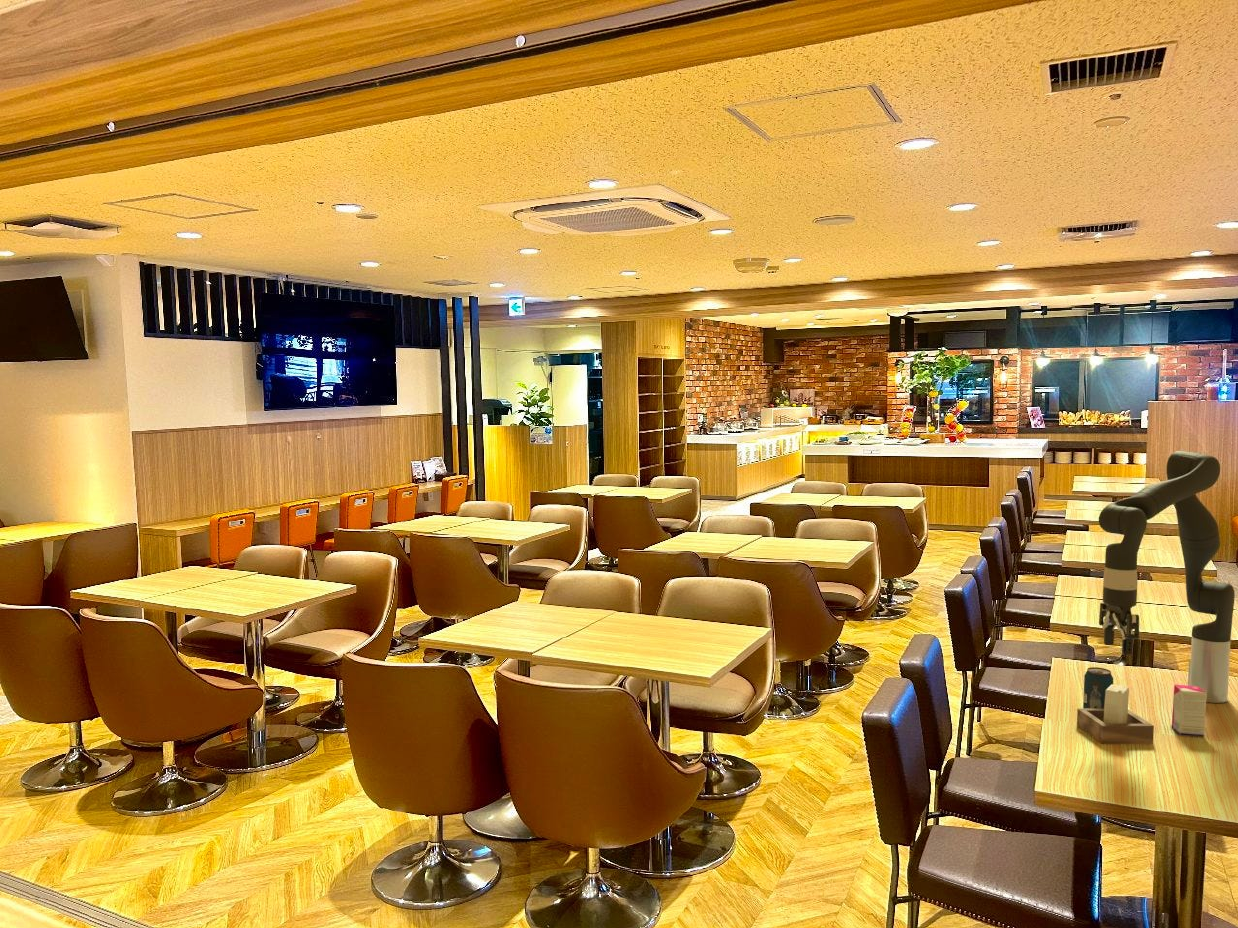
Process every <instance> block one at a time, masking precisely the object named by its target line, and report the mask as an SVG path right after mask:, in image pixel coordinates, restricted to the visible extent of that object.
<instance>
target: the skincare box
mask: <svg viewBox="0 0 1238 928" xmlns="http://www.w3.org/2000/svg"><path fill="white" fill-rule="evenodd" d="M1129 694H1130V687H1128V686H1124V685H1118V684H1114V683H1113V684H1111V685H1110V686H1109V687H1108V688H1107V689H1106V692H1105V705H1104V721H1103V722H1104V723H1105V724H1127V714H1128V710H1129V709H1128V708H1129V696H1130V695H1129Z"/></svg>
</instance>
